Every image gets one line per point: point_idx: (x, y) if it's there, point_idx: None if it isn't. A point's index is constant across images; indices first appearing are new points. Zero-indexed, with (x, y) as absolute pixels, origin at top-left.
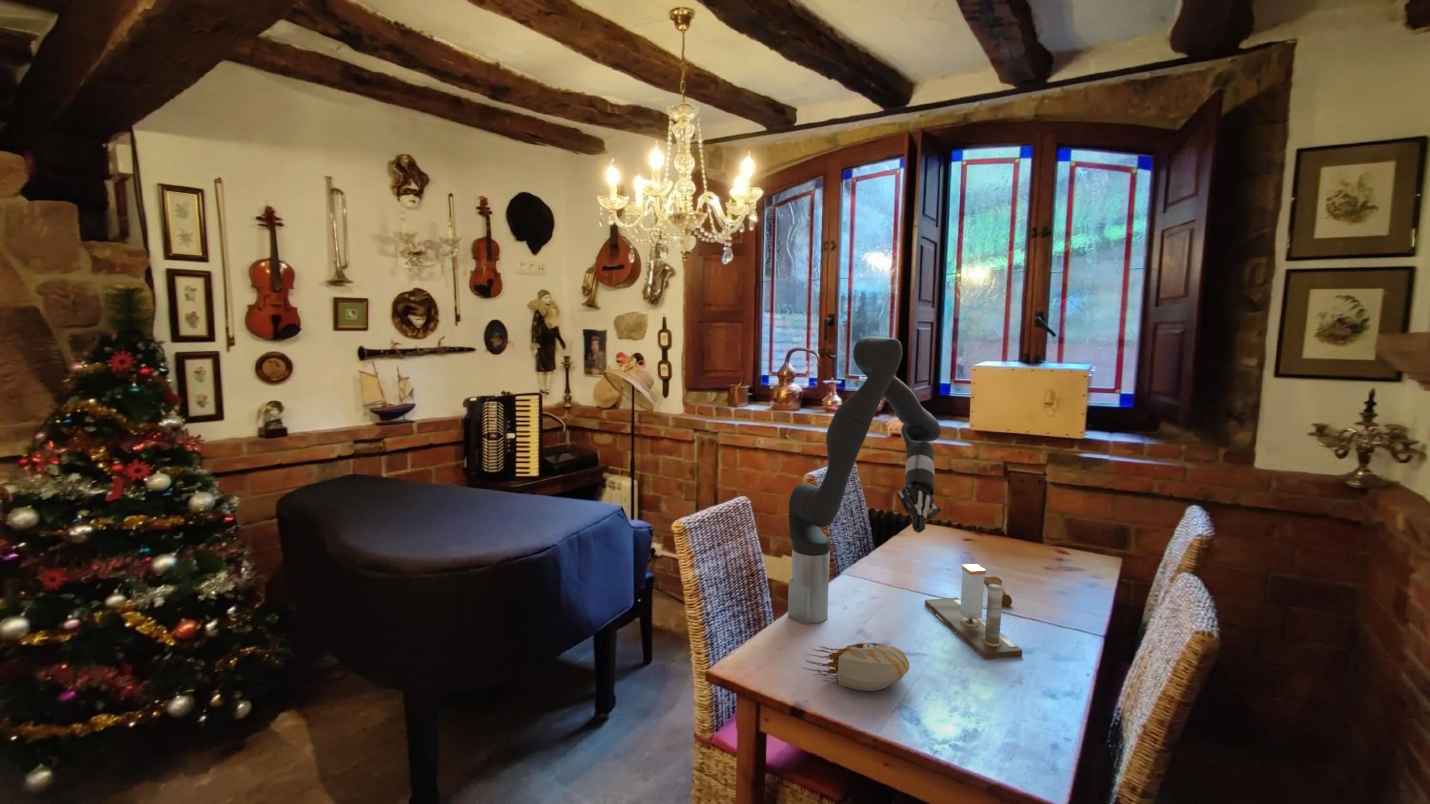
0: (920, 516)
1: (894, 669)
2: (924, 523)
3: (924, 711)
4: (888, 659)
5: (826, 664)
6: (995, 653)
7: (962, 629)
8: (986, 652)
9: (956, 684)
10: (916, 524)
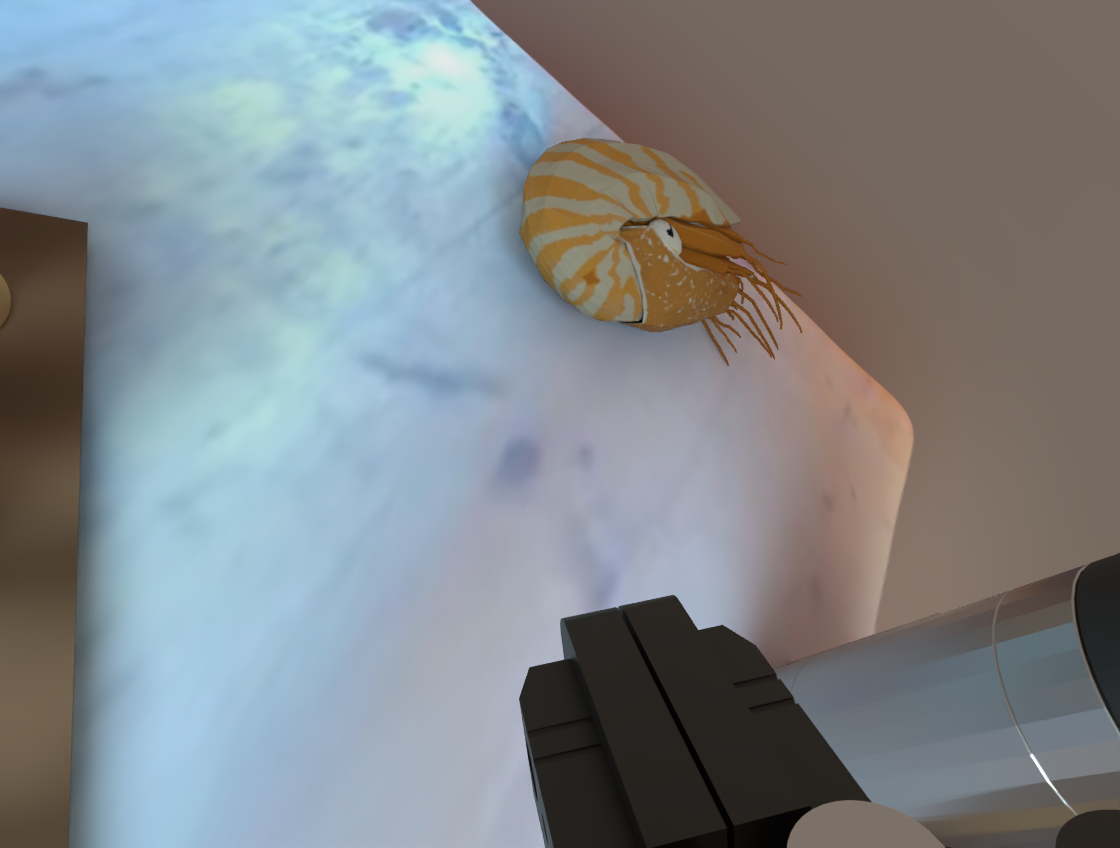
0: (769, 800)
1: (595, 139)
2: (560, 788)
3: (481, 127)
4: (618, 154)
5: (734, 302)
6: (11, 214)
7: (47, 462)
8: (72, 225)
9: (329, 171)
10: (737, 634)
